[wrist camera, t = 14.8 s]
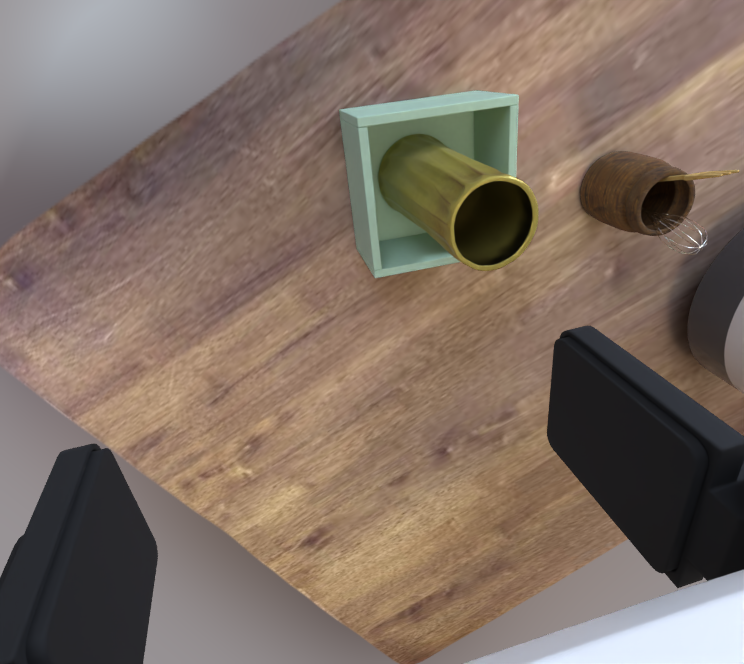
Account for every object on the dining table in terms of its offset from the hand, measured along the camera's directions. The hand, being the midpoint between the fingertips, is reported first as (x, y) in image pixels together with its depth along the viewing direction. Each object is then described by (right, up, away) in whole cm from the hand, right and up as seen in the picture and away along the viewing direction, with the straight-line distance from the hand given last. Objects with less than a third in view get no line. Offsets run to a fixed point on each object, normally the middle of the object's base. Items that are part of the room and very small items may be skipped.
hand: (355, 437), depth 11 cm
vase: (+4, +15, +29) cm, 33 cm away
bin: (+4, +15, +29) cm, 33 cm away
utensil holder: (+21, +15, +34) cm, 42 cm away
